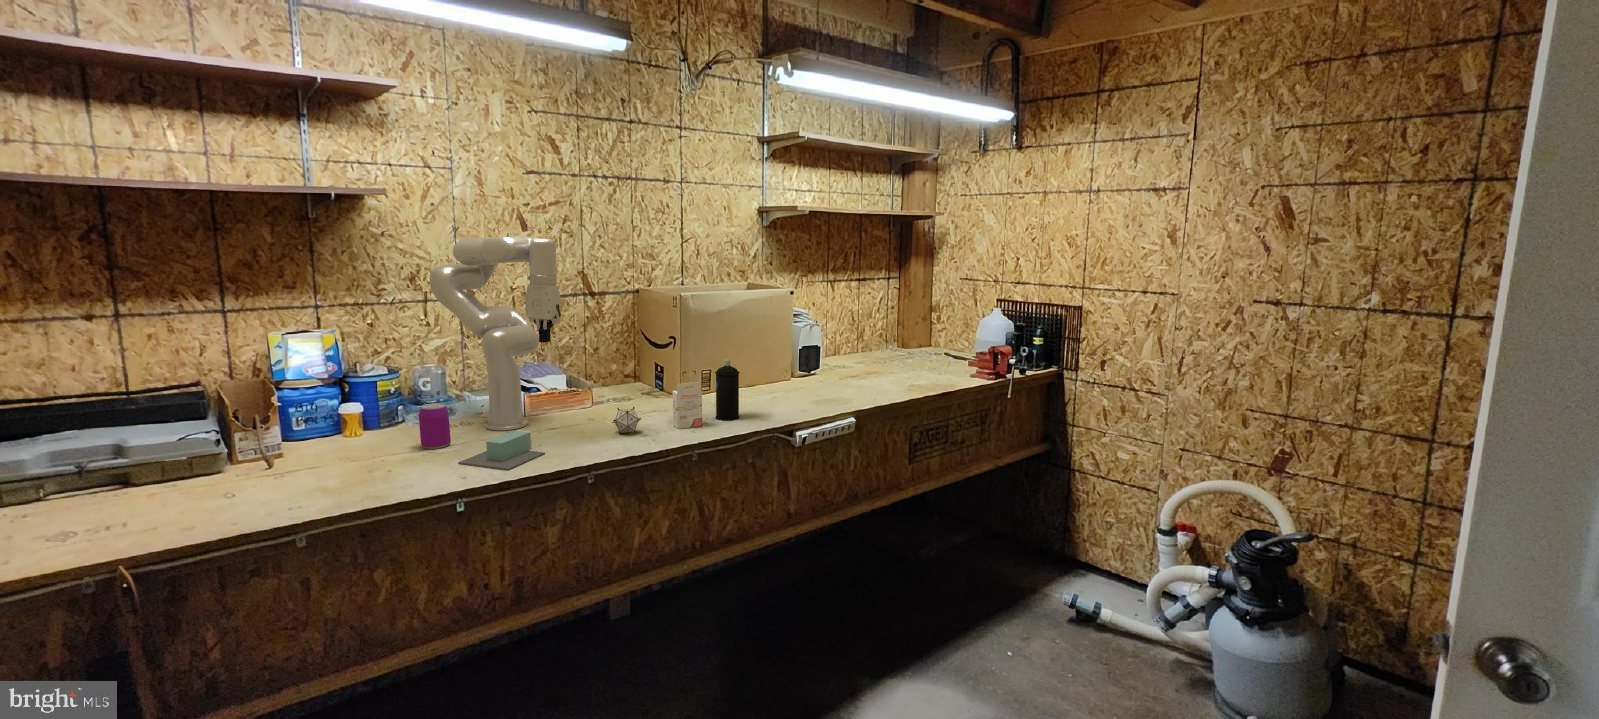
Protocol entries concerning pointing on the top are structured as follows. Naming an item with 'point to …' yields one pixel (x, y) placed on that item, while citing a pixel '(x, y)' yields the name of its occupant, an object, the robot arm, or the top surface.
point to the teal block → (509, 445)
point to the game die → (626, 420)
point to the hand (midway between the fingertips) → (544, 341)
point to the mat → (508, 464)
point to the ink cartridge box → (687, 406)
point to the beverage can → (434, 426)
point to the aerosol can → (727, 392)
